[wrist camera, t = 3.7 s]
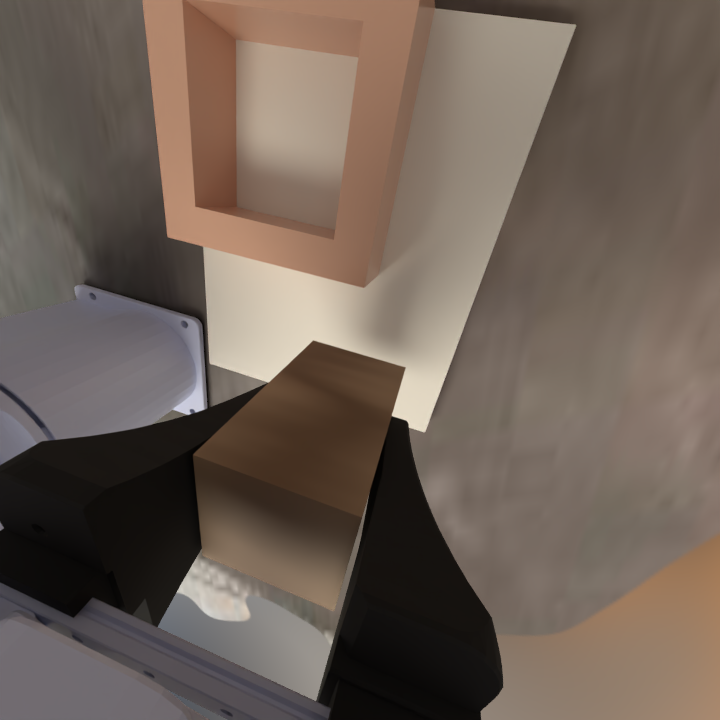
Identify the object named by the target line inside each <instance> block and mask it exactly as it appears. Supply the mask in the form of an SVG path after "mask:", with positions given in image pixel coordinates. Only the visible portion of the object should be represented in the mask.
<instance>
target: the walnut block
mask: <svg viewBox="0 0 720 720" xmlns="http://www.w3.org/2000/svg"><path fill="white" fill-rule="evenodd" d="M405 368H406V367H403V366H399V365H396V364H392V363H389V362H386V361H382V360H379V359H375V358H372V357H369V356H365V355H362V354H358V353H355V352H351V351H348V350H345V349H341V348H338V347H334V346H331V345H328V344H324V343H321V342H317V341H314V340H313V341H312V342H311V343H310V344H309V345H308V346H307V347H306V348H305V349H304V350H303V351H302V352H301V353H299V354H298V355H297V356H296V357H295V358H294V359H293V360H292V361H291V362H290V363H289V364H288V365H287V366H286V367H285V368H284V369H283V370H282V371H280V372H279V373H278V374H277V375H276V376H275V377H274V378H273V379H272V380H271V381H270V382H269V383H268V384H267V385H266V386H265V387H264V388H263V389H262V390H260V391H259V392H258V393H257V394H256V395H255V396H254V397H253V398H252V399H251V400H250V401H249V402H248V403H247V404H246V405H245V406H244V407H243V408H241V409H240V410H239V411H238V412H237V413H236V414H235V415H234V416H233V417H232V418H231V419H230V420H229V421H228V422H227V423H226V424H225V425H224V426H223V427H221V428H220V429H219V430H218V431H217V432H216V433H215V434H214V435H213V436H212V437H211V438H210V439H209V440H208V441H207V442H206V443H205V444H204V445H202V446H201V447H200V448H199V449H198V450H197V451H196V452H195V453H194V454H193V462H194V472H195V483H196V493H197V503H198V514H199V524H200V534H201V545H202V555H203V556H205V557H207V558H209V559H212V560H214V561H216V562H219V563H221V564H224V565H226V566H228V567H231V568H233V569H235V570H238V571H240V572H242V573H245V574H247V575H250V576H252V577H254V578H257V579H259V580H261V581H264V582H266V583H268V584H271V585H273V586H276V587H278V588H280V589H283V590H285V591H287V592H290V593H292V594H294V595H297V596H299V597H302V598H304V599H306V600H309V601H311V602H313V603H316V604H318V605H320V606H323V607H325V608H328V609H330V610H332V611H334V610H335V606H336V603H337V600H338V596H339V593H340V590H341V586H342V583H343V580H344V576H345V573H346V570H347V566H348V563H349V559H350V556H351V553H352V549H353V546H354V543H355V539H356V536H357V533H358V529H359V526H360V523H361V519H362V516H363V512H364V509H365V506H366V502H367V499H368V495H369V492H370V488H371V485H372V482H373V478H374V475H375V471H376V468H377V464H378V461H379V458H380V454H381V451H382V447H383V444H384V440H385V437H386V434H387V430H388V427H389V423H390V420H391V416H392V413H393V410H394V406H395V403H396V399H397V396H398V392H399V389H400V386H401V382H402V379H403V375H404V372H405Z"/></svg>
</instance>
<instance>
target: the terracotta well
mask: <svg viewBox="0 0 720 720" xmlns="http://www.w3.org/2000/svg"><path fill="white" fill-rule="evenodd" d="M143 9H144V19H145V28H146V38H147V47H148V56H149V66H150V75H151V85H152V94H153V104H154V113H155V123H156V132H157V142H158V151H159V161H160V170H161V179H162V189H163V198H164V208H165V217H166V227H167V236H168V237H169V238H172V239H176V240H180V241H184V242H188V243H192V244H196V245H199V246H203V247H207V248H211V249H215V250H219V251H223V252H226V253H230V254H234V255H238V256H242V257H246V258H250V259H253V260H257V261H261V262H265V263H269V264H273V265H277V266H281V267H284V268H288V269H292V270H296V271H300V272H304V273H308V274H311V275H315V276H319V277H323V278H327V279H331V280H335V281H338V282H342V283H346V284H350V285H354V286H358V287H362V288H365V287H366V286H367V285H368V284H369V283H370V282H371V281H373V280H374V279H375V278H376V277H377V276H378V275H379V271H380V267H381V262H382V257H383V253H384V248H385V243H386V238H387V234H388V229H389V224H390V219H391V215H392V210H393V205H394V201H395V196H396V191H397V186H398V182H399V177H400V172H401V168H402V163H403V158H404V153H405V149H406V144H407V139H408V134H409V130H410V125H411V120H412V116H413V111H414V106H415V101H416V97H417V92H418V87H419V82H420V78H421V73H422V68H423V64H424V59H425V54H426V49H427V45H428V40H429V35H430V30H431V26H432V21H433V16H434V12H435V1H434V0H143ZM236 40H241V41H248V42H255V43H262V44H269V45H276V46H283V47H290V48H296V49H303V50H310V51H317V52H324V53H331V54H338V55H344V56H351V57H358V64H357V72H356V79H355V86H354V94H353V101H352V109H351V116H350V123H349V131H348V138H347V146H346V153H345V160H344V168H343V175H342V182H341V190H340V197H339V205H338V212H337V219H336V227H335V230H333V229H329V228H325V227H321V226H316V225H312V224H308V223H303V222H299V221H295V220H291V219H286V218H282V217H278V216H273V215H269V214H265V213H261V212H256V211H252V210H248V209H244V208H239V207H237V155H236Z"/></svg>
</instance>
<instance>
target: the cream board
mask: <svg viewBox="0 0 720 720" xmlns="http://www.w3.org/2000/svg"><path fill="white" fill-rule="evenodd" d="M575 27H576V25H573V24H565V23H556V22H548V21H539V20H531V19H522V18H514V17H505V16H496V15H488V14H479V13H471V12H462V11H454V10H445V9H437V8H435V12H434V16H433V21H432V26H431V30H430V35H429V40H428V45H427V49H426V54H425V59H424V64H423V68H422V73H421V78H420V82H419V87H418V92H417V97H416V101H415V106H414V111H413V116H412V120H411V125H410V130H409V134H408V139H407V144H406V149H405V153H404V158H403V163H402V168H401V172H400V177H399V182H398V186H397V191H396V196H395V201H394V205H393V210H392V215H391V219H390V224H389V229H388V234H387V238H386V243H385V248H384V253H383V257H382V262H381V267H380V271H379V275H378V276H377V277H376V278H375V279H374V280H373V281H371V282H370V283H369V284H368V285H367V286H366V287H365V288H362V287H358V286H354V285H350V284H346V283H342V282H338V281H335V280H331V279H327V278H323V277H319V276H315V275H311V274H308V273H304V272H300V271H296V270H292V269H288V268H284V267H281V266H277V265H273V264H269V263H265V262H261V261H257V260H253V259H250V258H246V257H242V256H238V255H234V254H230V253H226V252H223V251H219V250H215V249H211V248H207V247H203V251H204V269H205V287H206V306H207V324H208V342H209V360H210V364H213V365H216V366H219V367H222V368H225V369H228V370H231V371H235V372H238V373H241V374H244V375H247V376H250V377H253V378H256V379H260V380H263V381H266V382H270V381H271V380H272V379H273V378H274V377H275V376H276V375H277V374H278V373H279V372H280V371H282V370H283V369H284V368H285V367H286V366H287V365H288V364H289V363H290V362H291V361H292V360H293V359H294V358H295V357H296V356H297V355H298V354H299V353H301V352H302V351H303V350H304V349H305V348H306V347H307V346H308V345H309V344H310V343H311V342H312V341H313V340H314V341H317V342H321V343H324V344H328V345H331V346H334V347H338V348H341V349H345V350H348V351H351V352H355V353H358V354H362V355H365V356H369V357H372V358H375V359H379V360H382V361H386V362H389V363H392V364H396V365H399V366H403V367H406V368H405V372H404V375H403V379H402V382H401V386H400V389H399V392H398V396H397V399H396V403H395V406H394V410H393V413H392V416H393V417H397V418H400V419H403V420H406V421H407V422H408V424H409V428H412V429H415V430H419V431H422V432H425V431H426V428H427V425H428V423H429V420H430V417H431V415H432V412H433V409H434V406H435V404H436V401H437V398H438V396H439V393H440V390H441V388H442V385H443V382H444V380H445V377H446V374H447V372H448V369H449V366H450V363H451V361H452V358H453V355H454V353H455V350H456V347H457V345H458V342H459V339H460V337H461V334H462V331H463V329H464V326H465V323H466V320H467V318H468V315H469V312H470V310H471V307H472V304H473V302H474V299H475V296H476V294H477V291H478V288H479V286H480V283H481V280H482V277H483V275H484V272H485V269H486V267H487V264H488V261H489V259H490V256H491V253H492V251H493V248H494V245H495V242H496V240H497V237H498V234H499V232H500V229H501V226H502V224H503V221H504V218H505V216H506V213H507V210H508V208H509V205H510V202H511V199H512V197H513V194H514V191H515V189H516V186H517V183H518V181H519V178H520V175H521V173H522V170H523V167H524V165H525V162H526V159H527V156H528V154H529V151H530V148H531V146H532V143H533V140H534V138H535V135H536V132H537V130H538V127H539V124H540V121H541V119H542V116H543V113H544V111H545V108H546V105H547V103H548V100H549V97H550V95H551V92H552V89H553V87H554V84H555V81H556V78H557V76H558V73H559V70H560V68H561V65H562V62H563V60H564V57H565V54H566V52H567V49H568V46H569V44H570V41H571V38H572V35H573V33H574V30H575ZM357 64H358V57H351V56H344V55H338V54H331V53H324V52H317V51H310V50H303V49H296V48H290V47H283V46H276V45H269V44H262V43H255V42H248V41H241V40H236V155H237V207H239V208H244V209H248V210H252V211H256V212H261V213H265V214H269V215H273V216H278V217H282V218H286V219H291V220H295V221H299V222H303V223H308V224H312V225H316V226H321V227H325V228H329V229H333V230H335V227H336V219H337V212H338V205H339V197H340V190H341V182H342V175H343V168H344V160H345V153H346V146H347V138H348V131H349V123H350V116H351V109H352V101H353V94H354V86H355V79H356V72H357Z"/></svg>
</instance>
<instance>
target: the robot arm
mask: <svg viewBox="0 0 720 720" xmlns="http://www.w3.org/2000/svg"><path fill="white" fill-rule="evenodd" d="M75 294H76V298H77V300H73V301H69V302H65V303H60V304H56V305H52V306H48V307H44V308H40V309H36V310H32V311H27V312H23V313H19V314H15V315H11V316H7V317H3V318H0V720H209V719H207V718H206V717H204V716H202V715H200V714H199V713H197V712H195V711H194V710H192V709H190V708H188V707H187V706H185V705H184V704H183V703H182V702H181V701H180V700H179V699H178V698H177V697H175V696H174V695H173V694H171V693H170V692H169V691H168V690H170V691H171V692H174V693H175V694H177V695H179V696H182V697H184V698H185V699H187V700H190V701H192V702H194V703H196V704H198V705H200V706H202V707H204V708H206V709H208V710H210V711H212V712H214V713H216V714H218V715H220V716H222V717H224V718H226V719H228V720H481V713H480V711H481V710H482V709H483V708H484V707H486V706H487V705H488V704H489V703H490V702H491V701H492V700H493V699H494V698H495V697H496V696H497V695H498V694H499V693H500V691H501V690H502V688H503V674H502V664H501V657H500V652H499V647H498V643H497V638H496V633H495V629H494V625H493V621H492V617H491V616H490V614H489V613H488V611H487V610H486V608H485V607H484V605H483V604H482V602H481V601H480V599H479V598H478V596H477V595H476V593H475V592H474V590H473V589H472V587H471V586H470V584H469V583H468V581H467V579H466V578H465V576H464V574H463V573H462V571H461V569H460V567H459V566H458V564H457V562H456V561H455V559H454V557H453V555H452V553H451V551H450V549H449V547H448V545H447V544H446V542H445V540H444V538H443V536H442V534H441V532H440V530H439V528H438V526H437V524H436V521H435V519H434V517H433V515H432V512H431V510H430V507H429V505H428V503H427V500H426V497H425V495H424V492H423V489H422V486H421V483H420V480H419V477H418V473H417V470H416V466H415V462H414V458H413V454H412V449H411V443H410V437H409V424H408V422H407V421H406V420H403V419H400V418H397V417H393V416H391V420H390V423H389V427H388V430H387V434H386V437H385V440H384V444H383V447H382V451H381V454H380V458H379V461H378V464H377V468H376V471H375V475H374V478H373V482H372V485H371V488H370V493H369V498H368V504H367V509H366V515H365V520H364V525H363V531H362V536H361V541H360V545H359V549H358V553H357V557H356V560H355V564H354V568H353V571H352V575H351V578H350V582H349V586H348V589H347V593H346V597H345V600H344V604H343V607H342V611H341V615H340V618H339V622H338V625H337V629H336V632H335V636H334V640H333V643H332V647H331V650H330V654H329V658H328V661H327V665H326V668H325V672H324V676H323V679H322V683H321V686H320V690H319V693H318V697H317V700H316V701H314V700H312V699H310V698H308V697H305V696H303V695H301V694H299V693H297V692H295V691H292V690H290V689H288V688H286V687H284V686H282V685H280V684H277V683H275V682H273V681H271V680H269V679H267V678H265V677H263V676H260V675H258V674H256V673H254V672H252V671H250V670H247V669H245V668H243V667H241V666H239V665H237V664H235V663H233V662H230V661H228V660H226V659H224V658H222V657H220V656H217V655H215V654H213V653H211V652H209V651H207V650H205V649H202V648H200V647H198V646H196V645H194V644H192V643H190V642H187V641H185V640H183V639H181V638H179V637H177V636H175V635H172V634H170V633H168V632H166V631H164V630H162V629H160V628H158V625H159V623H160V621H161V619H162V617H163V616H164V614H165V612H166V610H167V608H168V607H169V605H170V603H171V601H172V599H173V597H174V596H175V594H176V592H177V590H178V588H179V587H180V585H181V583H182V581H183V580H184V578H185V576H186V574H187V573H188V571H189V569H190V567H191V566H192V564H193V562H194V561H195V559H196V557H197V555H198V554H199V552H200V550H201V549H202V545H201V534H200V524H199V514H198V503H197V493H196V483H195V472H194V462H193V454H194V453H195V452H196V451H197V450H198V449H199V448H200V447H201V446H202V445H204V444H205V443H206V442H207V441H208V440H209V439H210V438H211V437H212V436H213V435H214V434H215V433H216V432H217V431H218V430H219V429H220V428H221V427H223V426H224V425H225V424H226V423H227V422H228V421H229V420H230V419H231V418H232V417H233V416H234V415H235V414H236V413H237V412H238V411H239V410H240V409H241V408H243V407H244V406H245V405H246V404H247V403H248V402H249V401H250V400H251V399H252V398H253V397H254V396H255V395H256V394H257V393H258V392H259V391H260V390H262V389H263V388H264V387H265V386H266V385H267V384H268V383H267V384H264V385H262V386H260V387H258V388H256V389H253V390H251V391H249V392H247V393H244V394H242V395H240V396H237V397H235V398H233V399H230V400H228V401H225V402H223V403H220V404H218V405H215V406H212V407H210V408H207V392H206V377H205V361H204V345H203V329H202V324H201V322H200V321H199V320H198V319H197V318H195V317H192V316H188V315H185V314H182V313H178V312H175V311H172V310H168V309H165V308H162V307H158V306H155V305H151V304H148V303H145V302H141V301H138V300H135V299H131V298H128V297H125V296H121V295H118V294H115V293H111V292H108V291H105V290H101V289H98V288H94V287H91V286H88V285H84V284H80V285H76V286H75ZM186 322H187V323H188V325H187V324H186ZM172 409H173V410H176V411H179V412H181V413H184V414H187V415H186V416H183V417H179V418H176V419H173V420H169V421H165V422H161V423H156V424H153V423H154V422H156V421H157V420H158V419H160V418H161V417H163V416H164V415H165V414H167V413H168V412H170V411H171V410H172ZM151 424H152V425H151Z"/></svg>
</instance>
